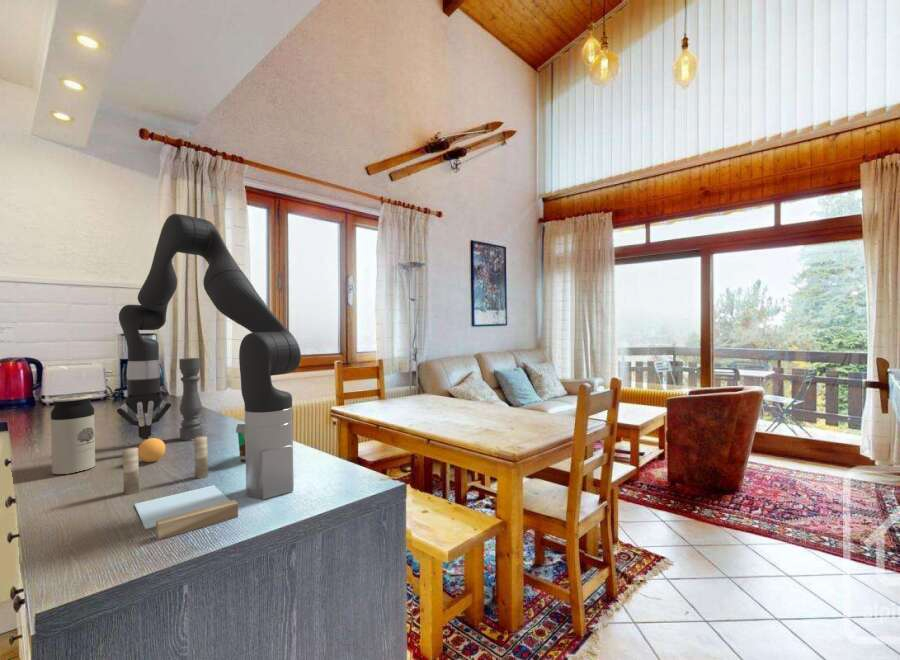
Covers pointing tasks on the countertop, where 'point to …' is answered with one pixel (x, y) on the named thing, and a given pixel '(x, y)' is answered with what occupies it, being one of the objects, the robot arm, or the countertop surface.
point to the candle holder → (190, 399)
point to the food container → (241, 441)
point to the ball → (151, 450)
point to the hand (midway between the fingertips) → (144, 438)
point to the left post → (130, 470)
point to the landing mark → (178, 504)
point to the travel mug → (72, 434)
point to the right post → (201, 457)
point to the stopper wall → (196, 519)
